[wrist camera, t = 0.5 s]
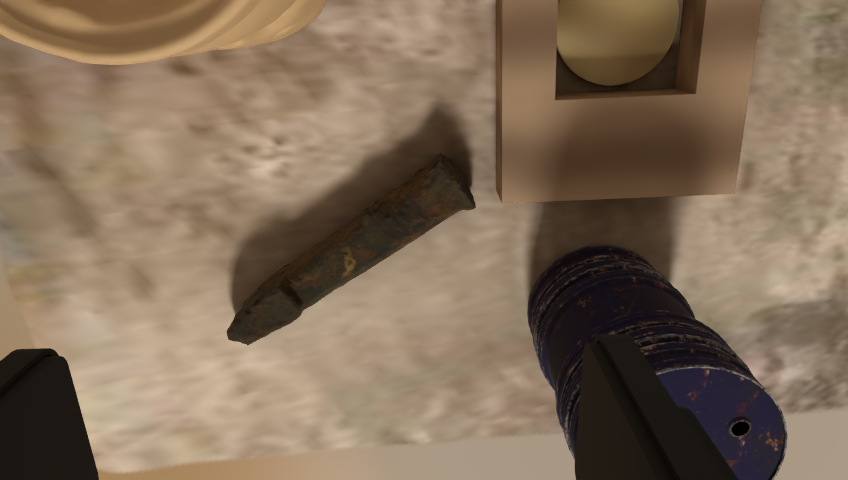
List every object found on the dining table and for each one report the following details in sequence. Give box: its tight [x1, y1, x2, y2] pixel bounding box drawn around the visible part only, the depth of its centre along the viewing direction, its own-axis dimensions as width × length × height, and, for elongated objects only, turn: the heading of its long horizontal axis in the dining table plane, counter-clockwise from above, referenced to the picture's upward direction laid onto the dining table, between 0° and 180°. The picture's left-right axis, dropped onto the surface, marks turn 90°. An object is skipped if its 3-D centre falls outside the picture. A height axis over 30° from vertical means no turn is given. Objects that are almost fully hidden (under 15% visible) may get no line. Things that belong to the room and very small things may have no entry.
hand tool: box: [227, 153, 476, 345], centre depth 38 cm, size 19×4×5 cm, turn 122°
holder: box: [496, 0, 762, 203], centre depth 34 cm, size 20×14×3 cm
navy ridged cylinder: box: [527, 246, 787, 480], centre depth 35 cm, size 10×10×15 cm
